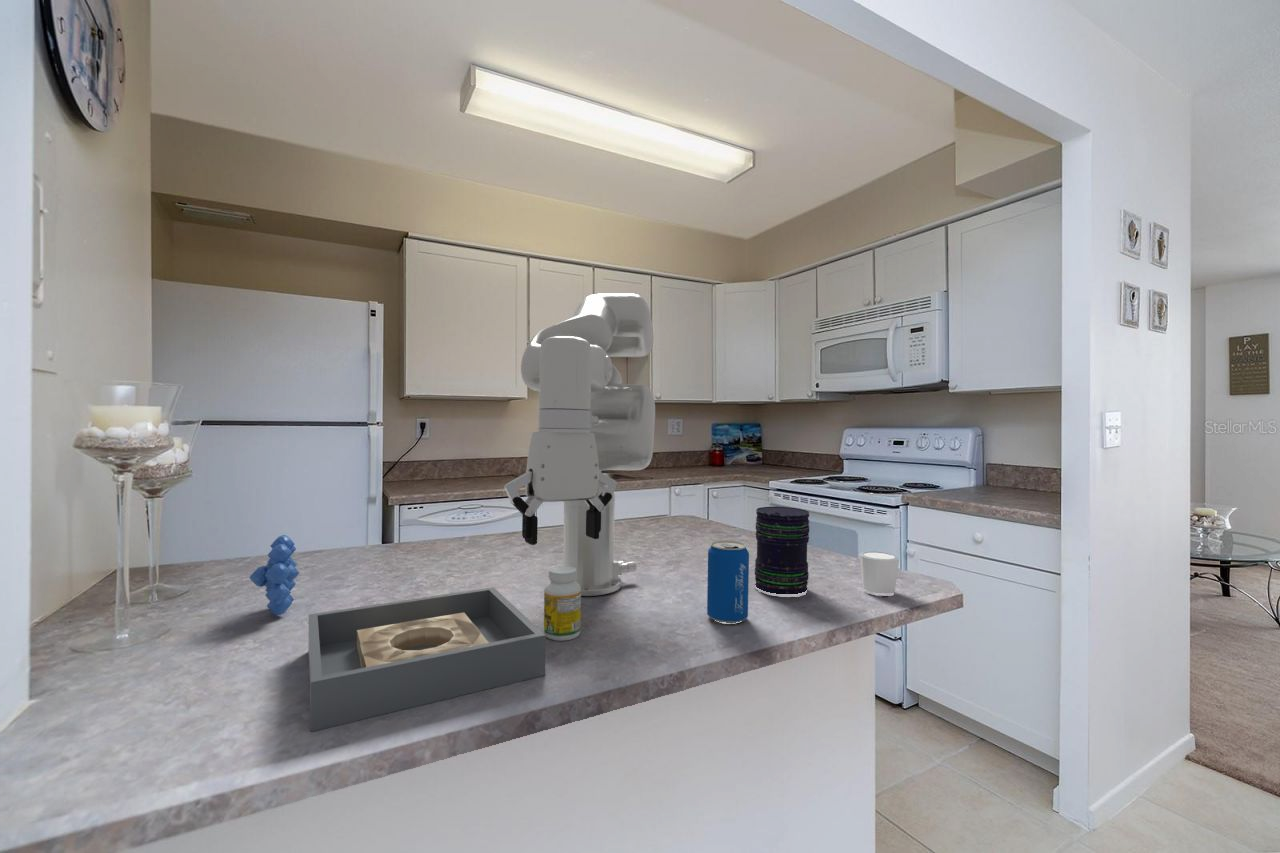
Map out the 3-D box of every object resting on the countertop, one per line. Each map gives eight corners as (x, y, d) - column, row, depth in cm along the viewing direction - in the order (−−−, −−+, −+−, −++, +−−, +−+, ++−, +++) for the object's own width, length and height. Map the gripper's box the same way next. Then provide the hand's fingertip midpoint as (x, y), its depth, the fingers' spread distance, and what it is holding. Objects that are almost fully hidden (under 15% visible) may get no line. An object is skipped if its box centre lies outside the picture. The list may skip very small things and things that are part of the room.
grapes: (255, 603, 93) (255, 532, 93) (302, 598, 96) (302, 529, 96) (242, 627, 83) (242, 547, 83) (295, 620, 86) (295, 543, 86)
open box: (493, 618, 88) (493, 587, 88) (545, 675, 69) (545, 635, 69) (308, 651, 75) (308, 614, 75) (310, 731, 56) (310, 682, 56)
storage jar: (766, 579, 112) (768, 504, 112) (815, 588, 106) (817, 510, 106) (745, 591, 104) (747, 511, 104) (796, 601, 98) (798, 517, 98)
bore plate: (464, 628, 82) (464, 612, 81) (492, 665, 69) (492, 646, 69) (356, 647, 74) (356, 630, 74) (366, 693, 62) (367, 672, 62)
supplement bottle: (583, 639, 80) (584, 573, 80) (546, 643, 79) (547, 575, 78) (576, 626, 85) (577, 563, 85) (541, 629, 84) (542, 565, 84)
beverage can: (722, 629, 85) (724, 550, 85) (699, 615, 91) (700, 542, 90) (756, 622, 88) (757, 546, 88) (731, 609, 94) (732, 538, 93)
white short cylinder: (900, 591, 105) (901, 554, 105) (895, 600, 100) (896, 561, 99) (862, 584, 109) (863, 549, 109) (854, 593, 103) (855, 556, 103)
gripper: (605, 424, 89) (603, 531, 89) (498, 421, 80) (496, 541, 80) (628, 424, 83) (626, 539, 82) (515, 421, 74) (513, 551, 73)
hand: (562, 540), depth 81 cm, fingers open, 9 cm apart
